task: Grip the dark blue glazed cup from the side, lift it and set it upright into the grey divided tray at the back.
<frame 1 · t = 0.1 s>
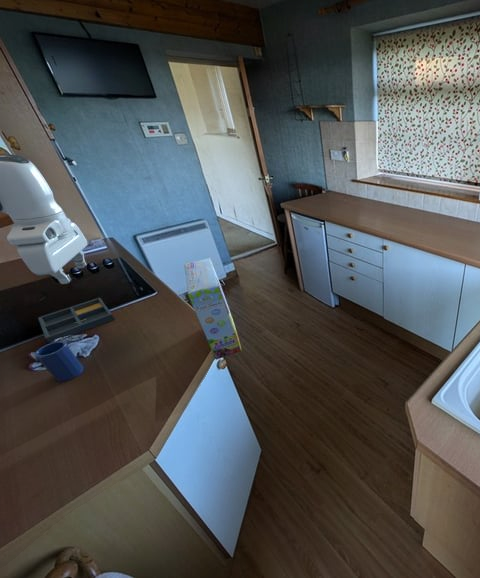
hand: (75, 274, 80), 29 cm above the worktop, tool pointing down, fingers open, 8 cm apart
cup: (70, 373, 87), on the worktop
grey divided tray: (79, 321, 108), on the worktop
snack box: (224, 338, 102), on the worktop
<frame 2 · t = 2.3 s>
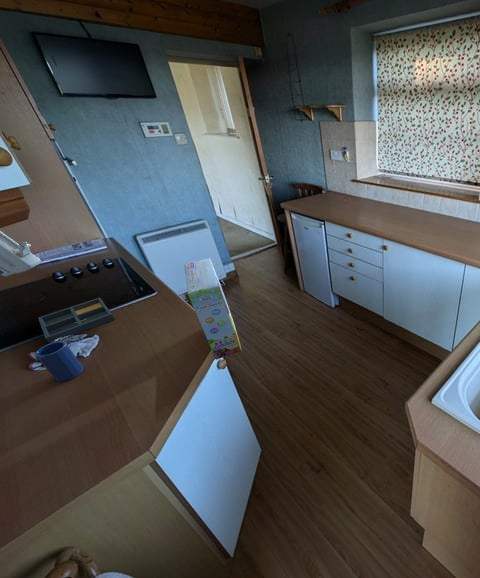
hand: (7, 230, 80), 39 cm above the worktop, tool pointing upward, fingers open, 8 cm apart
nothing on the worktop moved.
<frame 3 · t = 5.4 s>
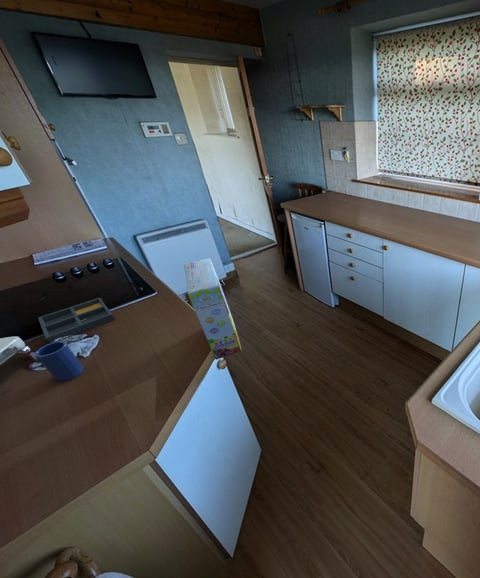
hand: (13, 361, 83), 6 cm above the worktop, tool horizontal, fingers open, 8 cm apart
nothing on the worktop moved.
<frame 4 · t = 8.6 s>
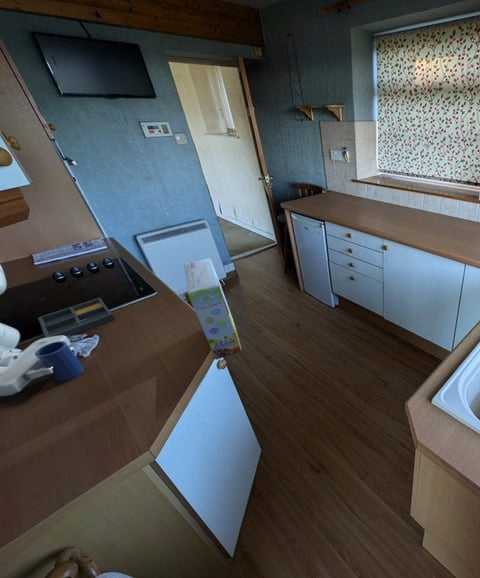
hand: (63, 359, 84), 6 cm above the worktop, tool horizontal, fingers closed on cup, 6 cm apart
cup: (70, 373, 87), on the worktop, touching gripper
everything else where it was.
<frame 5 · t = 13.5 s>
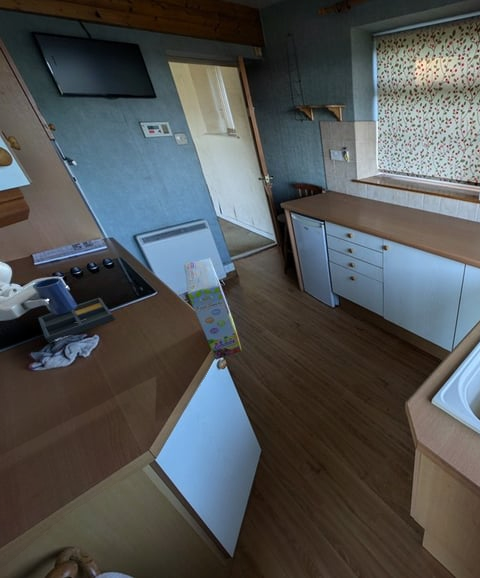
hand: (58, 294, 93), 17 cm above the worktop, tool horizontal, fingers closed on cup, 6 cm apart
cup: (64, 309, 96), point 11 cm above the worktop, touching gripper
everything else where it was.
when the fingers open (6 cm above the worktop, at t = 19.0 s): cup stays where it is, resting on grey divided tray.
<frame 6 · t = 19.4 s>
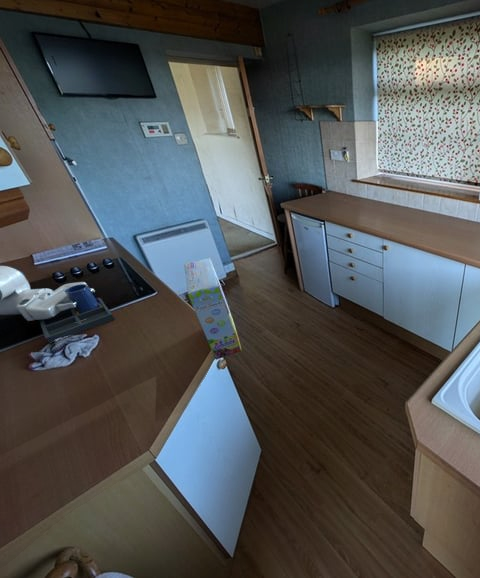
hand: (84, 297, 110), 7 cm above the worktop, tool horizontal, fingers open, 8 cm apart
cup: (89, 310, 113), point 1 cm above the worktop, touching grey divided tray
everything else where it was.
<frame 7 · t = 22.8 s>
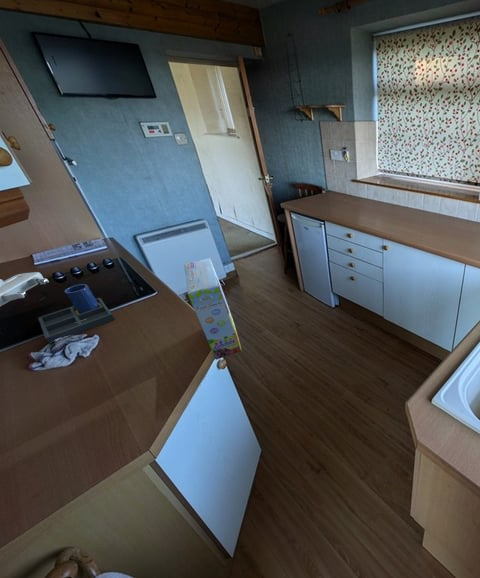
hand: (35, 287, 105), 12 cm above the worktop, tool horizontal, fingers open, 8 cm apart
nothing on the worktop moved.
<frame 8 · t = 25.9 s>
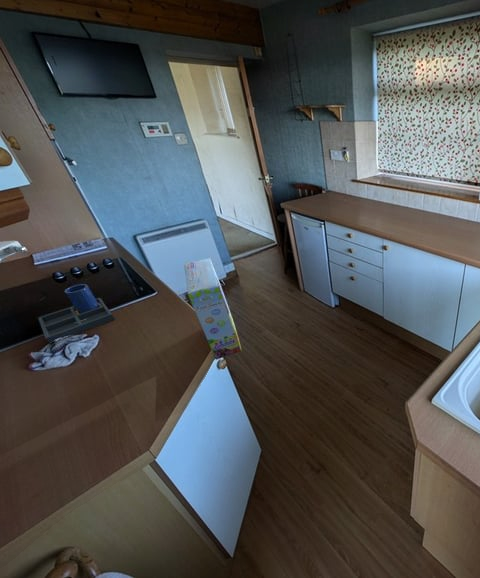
hand: (12, 255, 99), 25 cm above the worktop, tool horizontal, fingers open, 8 cm apart
nothing on the worktop moved.
at the end: cup 0.0 cm from the target spot in the grey divided tray, point 0.8 cm above the grey divided tray's base; cup tilted 0°; the gripper is holding nothing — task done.
